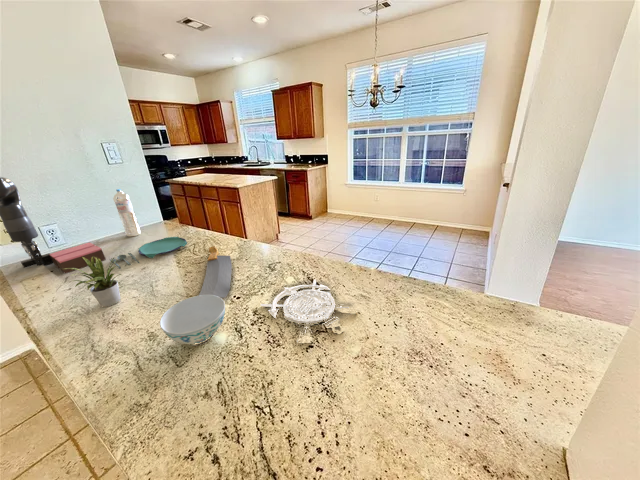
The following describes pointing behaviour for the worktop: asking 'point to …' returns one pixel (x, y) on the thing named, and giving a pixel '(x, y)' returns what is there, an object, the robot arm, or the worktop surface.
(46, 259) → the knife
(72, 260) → the two-tone red slab
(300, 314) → the pendant
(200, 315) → the chinaware
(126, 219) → the water bottle
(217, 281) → the cleaver
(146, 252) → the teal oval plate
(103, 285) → the house plant
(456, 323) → the worktop surface
